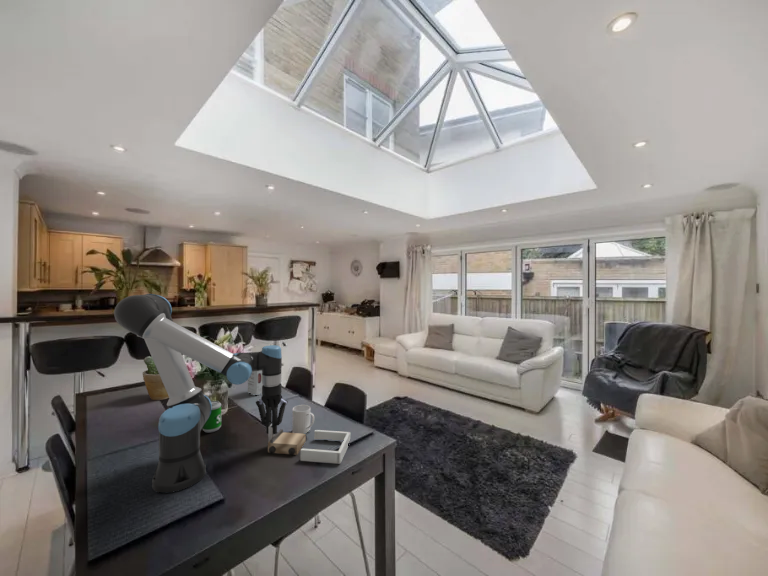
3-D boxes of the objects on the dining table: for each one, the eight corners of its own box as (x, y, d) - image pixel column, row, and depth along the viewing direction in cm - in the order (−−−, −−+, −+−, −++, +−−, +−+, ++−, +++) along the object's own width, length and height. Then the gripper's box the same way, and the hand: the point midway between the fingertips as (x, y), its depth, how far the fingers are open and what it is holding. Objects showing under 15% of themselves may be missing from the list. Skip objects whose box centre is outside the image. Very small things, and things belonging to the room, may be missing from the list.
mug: (288, 432, 138) (288, 408, 138) (302, 425, 145) (303, 403, 145) (306, 440, 131) (306, 415, 131) (320, 433, 137) (320, 409, 137)
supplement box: (256, 396, 182) (256, 368, 182) (247, 393, 187) (247, 365, 187) (270, 391, 190) (270, 364, 190) (261, 389, 195) (261, 362, 195)
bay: (340, 463, 114) (340, 453, 114) (300, 460, 116) (300, 450, 116) (350, 441, 130) (350, 432, 130) (315, 439, 132) (315, 429, 132)
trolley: (267, 453, 121) (267, 440, 121) (278, 440, 131) (279, 428, 131) (296, 455, 119) (296, 442, 119) (306, 442, 130) (306, 430, 130)
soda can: (213, 434, 136) (213, 407, 136) (198, 432, 137) (198, 405, 137) (225, 426, 143) (225, 400, 143) (211, 425, 145) (211, 399, 145)
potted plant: (162, 390, 191) (162, 350, 191) (189, 392, 188) (189, 351, 188) (134, 401, 173) (134, 357, 172) (163, 403, 170) (163, 358, 170)
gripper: (290, 381, 129) (290, 437, 129) (261, 380, 130) (261, 435, 131) (282, 387, 121) (282, 447, 122) (251, 386, 123) (251, 445, 123)
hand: (271, 441), depth 126 cm, fingers closed
